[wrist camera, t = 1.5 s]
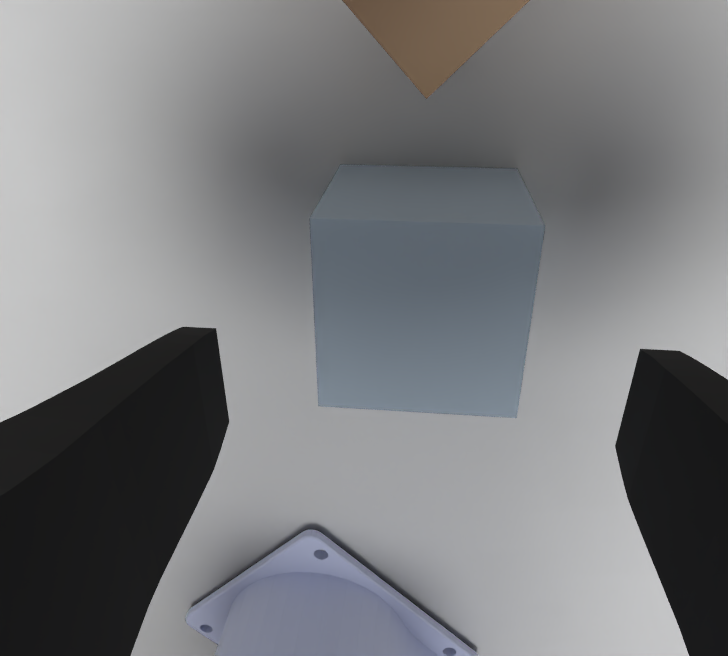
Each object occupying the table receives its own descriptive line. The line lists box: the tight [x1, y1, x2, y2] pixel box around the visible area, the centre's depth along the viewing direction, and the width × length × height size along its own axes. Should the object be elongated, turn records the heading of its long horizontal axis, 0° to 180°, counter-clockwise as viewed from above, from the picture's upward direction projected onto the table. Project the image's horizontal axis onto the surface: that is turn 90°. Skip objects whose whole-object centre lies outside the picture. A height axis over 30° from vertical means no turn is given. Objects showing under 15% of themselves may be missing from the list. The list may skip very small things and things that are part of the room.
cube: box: [310, 164, 545, 418], centre depth 15 cm, size 4×4×4 cm
